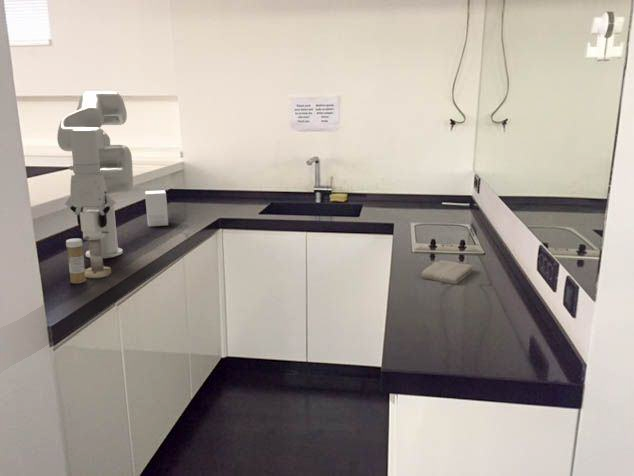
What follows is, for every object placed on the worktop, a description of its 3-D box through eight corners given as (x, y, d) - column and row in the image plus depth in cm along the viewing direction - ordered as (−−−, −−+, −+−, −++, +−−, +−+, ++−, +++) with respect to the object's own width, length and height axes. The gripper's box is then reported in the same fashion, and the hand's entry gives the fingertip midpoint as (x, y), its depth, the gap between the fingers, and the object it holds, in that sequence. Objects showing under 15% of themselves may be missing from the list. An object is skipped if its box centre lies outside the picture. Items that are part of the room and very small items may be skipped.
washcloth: (474, 271, 179) (475, 263, 178) (456, 286, 165) (457, 277, 164) (440, 266, 186) (440, 257, 185) (420, 279, 171) (420, 270, 170)
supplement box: (167, 221, 251) (165, 189, 247) (168, 225, 242) (166, 192, 239) (147, 222, 248) (144, 190, 244) (147, 226, 240) (145, 193, 236)
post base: (88, 270, 176) (85, 235, 174) (113, 270, 177) (110, 235, 174) (81, 278, 169) (77, 241, 166) (107, 277, 170) (104, 241, 167)
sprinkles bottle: (73, 279, 168) (68, 238, 165) (88, 279, 168) (84, 237, 165) (68, 284, 164) (63, 241, 160) (83, 283, 164) (79, 241, 161)
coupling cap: (77, 239, 167) (74, 213, 165) (93, 233, 175) (91, 208, 173) (100, 241, 165) (98, 214, 163) (116, 235, 172) (114, 209, 170)
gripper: (53, 171, 161) (60, 229, 166) (110, 171, 161) (115, 229, 165) (65, 168, 168) (71, 224, 173) (119, 168, 168) (124, 224, 173)
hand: (92, 226), depth 169 cm, fingers closed on coupling cap, 5 cm apart
